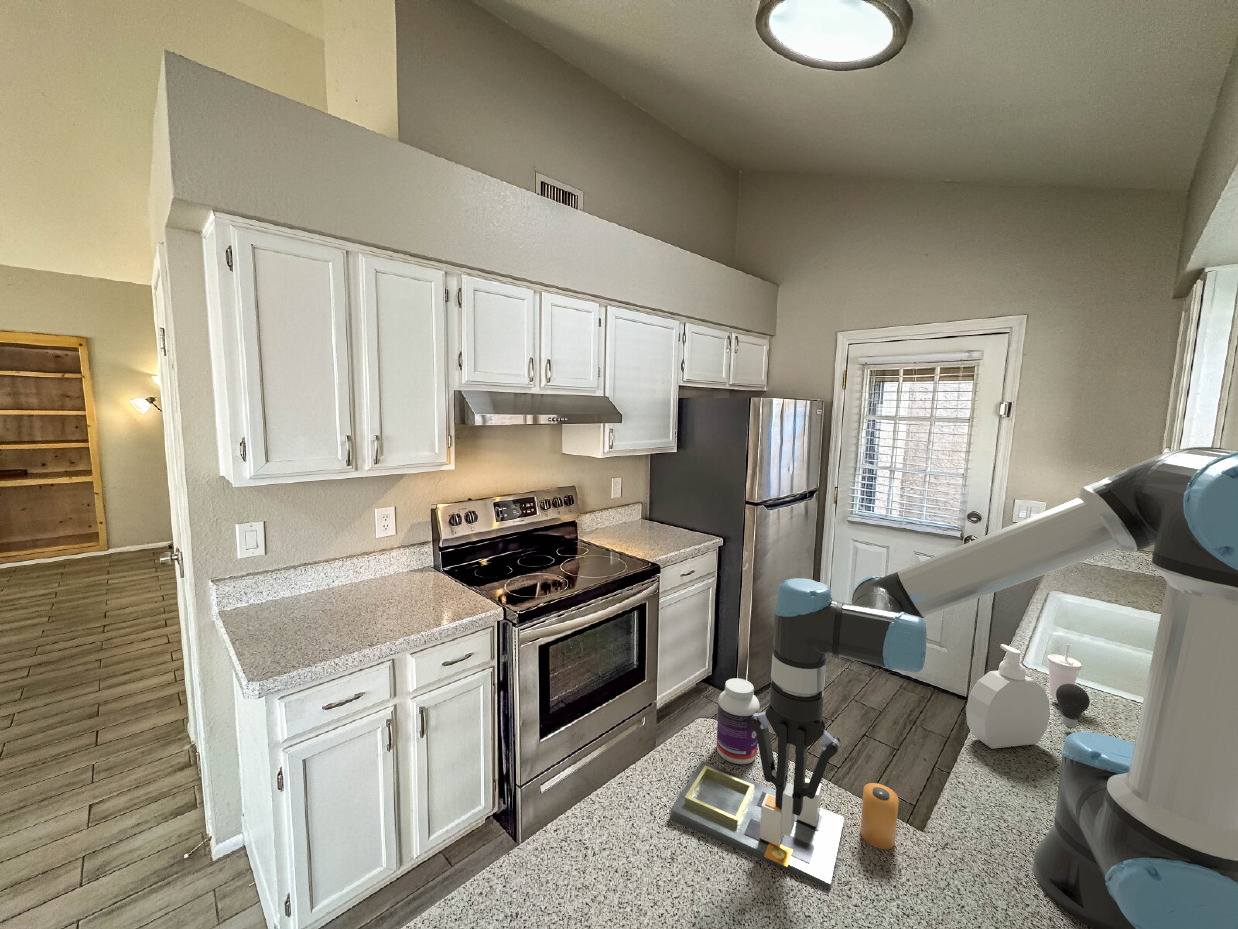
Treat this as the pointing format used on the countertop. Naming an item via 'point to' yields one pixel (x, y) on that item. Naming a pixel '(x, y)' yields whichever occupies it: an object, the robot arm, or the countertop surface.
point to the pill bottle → (737, 722)
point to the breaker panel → (756, 823)
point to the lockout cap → (879, 816)
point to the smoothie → (1062, 671)
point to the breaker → (811, 807)
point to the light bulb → (1072, 703)
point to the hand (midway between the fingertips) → (787, 828)
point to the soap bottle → (1008, 706)
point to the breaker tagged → (770, 821)
